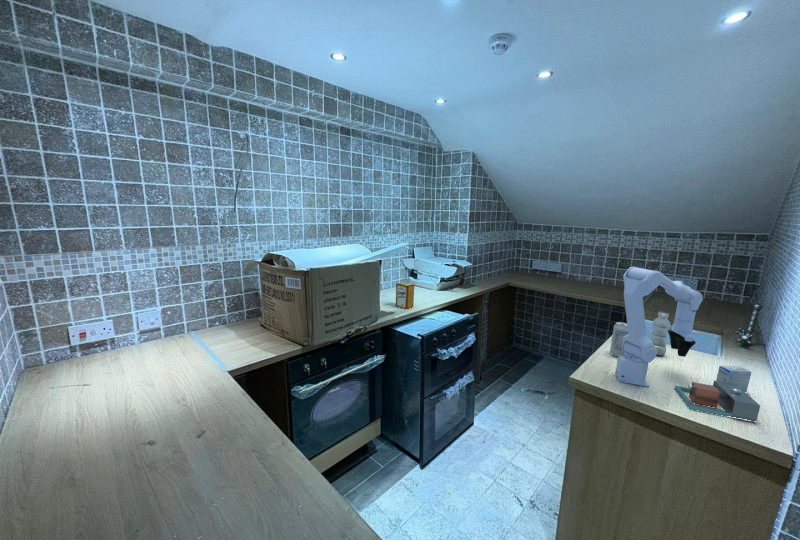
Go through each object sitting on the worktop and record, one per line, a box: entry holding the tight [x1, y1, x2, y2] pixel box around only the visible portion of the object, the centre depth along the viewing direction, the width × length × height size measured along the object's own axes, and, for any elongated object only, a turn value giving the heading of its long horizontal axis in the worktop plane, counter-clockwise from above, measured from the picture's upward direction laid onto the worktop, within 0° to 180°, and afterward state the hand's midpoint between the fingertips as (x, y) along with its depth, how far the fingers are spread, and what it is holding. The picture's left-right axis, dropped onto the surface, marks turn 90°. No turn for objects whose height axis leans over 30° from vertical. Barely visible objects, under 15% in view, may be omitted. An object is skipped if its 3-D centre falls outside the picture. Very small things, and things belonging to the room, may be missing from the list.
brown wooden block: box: [687, 381, 720, 409], centre depth 113 cm, size 7×4×6 cm, turn 66°
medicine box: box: [715, 365, 752, 393], centre depth 122 cm, size 8×4×9 cm, turn 92°
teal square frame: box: [674, 380, 761, 422], centre depth 112 cm, size 16×14×7 cm
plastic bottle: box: [650, 311, 672, 357], centre depth 151 cm, size 6×7×20 cm
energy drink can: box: [609, 321, 629, 358], centre depth 148 cm, size 6×6×15 cm
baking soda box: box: [395, 281, 415, 310], centre depth 212 cm, size 10×6×16 cm
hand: (677, 352), depth 131 cm, fingers open, 7 cm apart
